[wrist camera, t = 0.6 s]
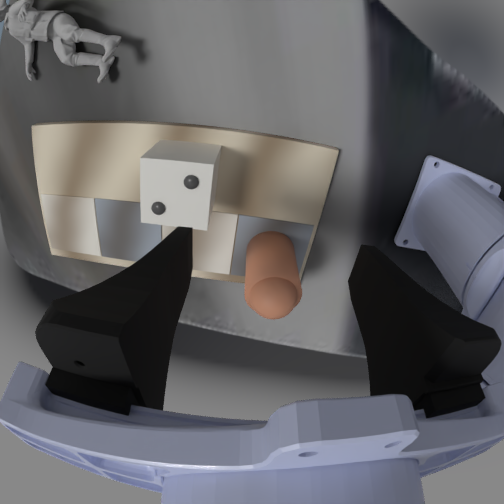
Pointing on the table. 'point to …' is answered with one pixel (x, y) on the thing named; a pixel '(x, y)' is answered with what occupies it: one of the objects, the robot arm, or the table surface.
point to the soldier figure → (56, 36)
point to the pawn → (272, 275)
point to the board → (150, 235)
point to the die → (179, 183)
